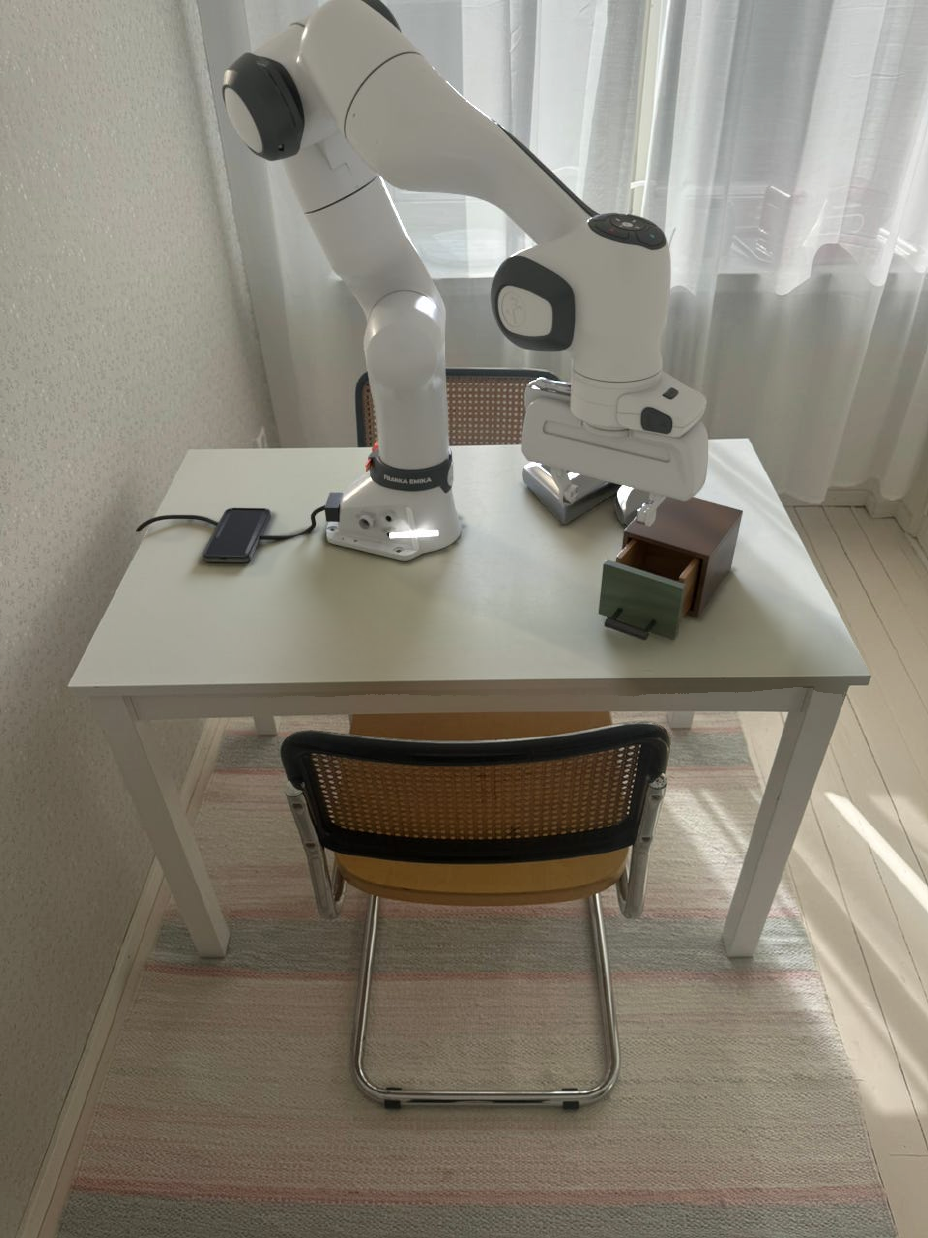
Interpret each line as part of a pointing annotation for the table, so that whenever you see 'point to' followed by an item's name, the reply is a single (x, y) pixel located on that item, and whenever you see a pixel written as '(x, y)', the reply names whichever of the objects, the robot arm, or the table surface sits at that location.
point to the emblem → (582, 494)
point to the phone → (237, 535)
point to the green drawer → (648, 590)
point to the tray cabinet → (694, 539)
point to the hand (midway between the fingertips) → (605, 511)
